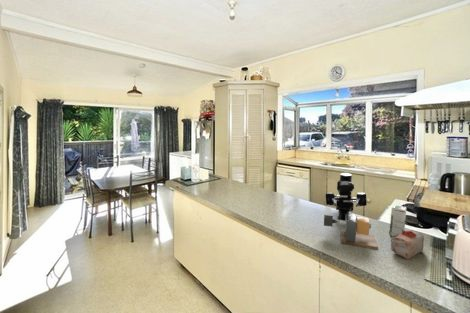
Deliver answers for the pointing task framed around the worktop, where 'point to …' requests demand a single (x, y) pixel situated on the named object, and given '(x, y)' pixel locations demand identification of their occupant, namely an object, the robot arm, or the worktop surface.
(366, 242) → the stand
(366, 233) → the block
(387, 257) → the worktop surface
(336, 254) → the worktop surface
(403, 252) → the food item
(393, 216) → the syrup box
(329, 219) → the shaft
